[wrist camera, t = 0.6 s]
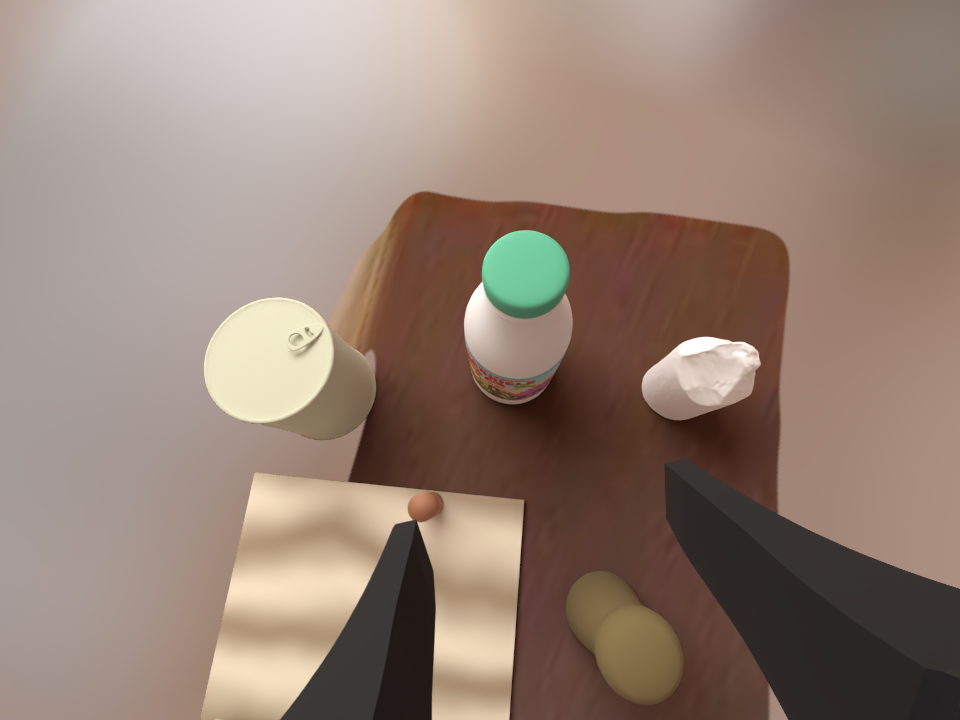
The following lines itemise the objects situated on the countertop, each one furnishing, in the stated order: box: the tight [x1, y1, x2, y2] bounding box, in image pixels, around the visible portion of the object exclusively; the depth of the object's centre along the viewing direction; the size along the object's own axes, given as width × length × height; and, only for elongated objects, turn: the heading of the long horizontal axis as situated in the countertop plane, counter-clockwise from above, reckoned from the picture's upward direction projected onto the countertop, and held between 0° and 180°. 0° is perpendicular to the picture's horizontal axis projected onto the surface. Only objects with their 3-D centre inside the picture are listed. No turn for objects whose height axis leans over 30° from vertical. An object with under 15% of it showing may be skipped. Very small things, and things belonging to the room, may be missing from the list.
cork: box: [566, 571, 684, 705], centre depth 31 cm, size 6×6×11 cm
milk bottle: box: [464, 230, 573, 404], centre depth 33 cm, size 8×8×20 cm
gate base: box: [200, 473, 524, 720], centre depth 33 cm, size 26×24×8 cm
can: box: [204, 298, 376, 440], centre depth 36 cm, size 9×9×12 cm
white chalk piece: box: [642, 337, 761, 420], centre depth 35 cm, size 6×12×6 cm
